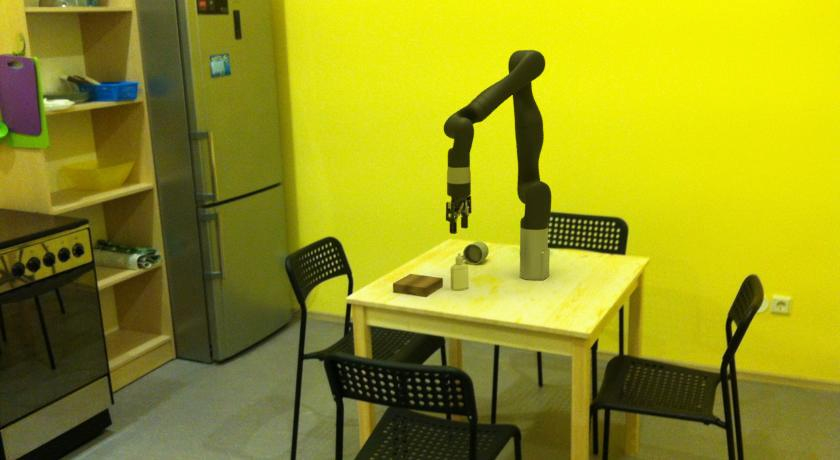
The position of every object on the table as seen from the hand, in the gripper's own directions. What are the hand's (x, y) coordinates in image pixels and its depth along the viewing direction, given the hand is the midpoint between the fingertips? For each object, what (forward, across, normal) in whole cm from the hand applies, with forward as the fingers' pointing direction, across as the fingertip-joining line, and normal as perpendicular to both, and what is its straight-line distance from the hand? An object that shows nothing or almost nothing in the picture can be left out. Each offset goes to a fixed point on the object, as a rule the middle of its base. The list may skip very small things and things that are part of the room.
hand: (458, 230), depth 259 cm
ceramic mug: (+20, +32, +9) cm, 39 cm away
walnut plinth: (+20, -6, +12) cm, 24 cm away
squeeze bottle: (+20, 0, 0) cm, 20 cm away
